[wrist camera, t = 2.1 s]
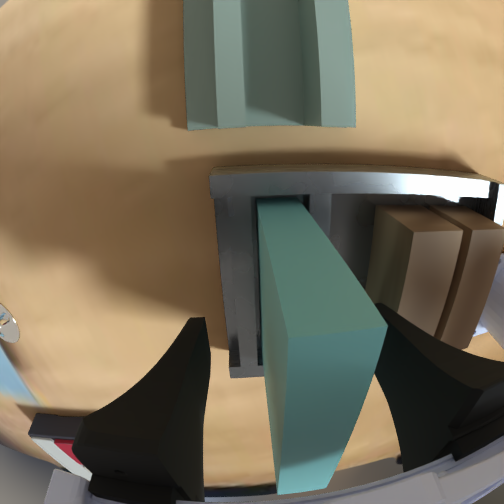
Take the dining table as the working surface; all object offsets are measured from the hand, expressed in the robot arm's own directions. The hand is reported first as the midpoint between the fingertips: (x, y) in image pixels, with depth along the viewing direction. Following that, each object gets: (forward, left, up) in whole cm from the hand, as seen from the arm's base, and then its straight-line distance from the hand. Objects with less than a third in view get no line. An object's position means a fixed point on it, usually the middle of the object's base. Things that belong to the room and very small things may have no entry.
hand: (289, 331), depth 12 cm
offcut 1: (-7, 0, -4) cm, 8 cm away
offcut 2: (-11, 0, -4) cm, 11 cm away
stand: (0, -12, -5) cm, 13 cm away
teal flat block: (0, 0, -4) cm, 4 cm away
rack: (-5, 0, -5) cm, 7 cm away
